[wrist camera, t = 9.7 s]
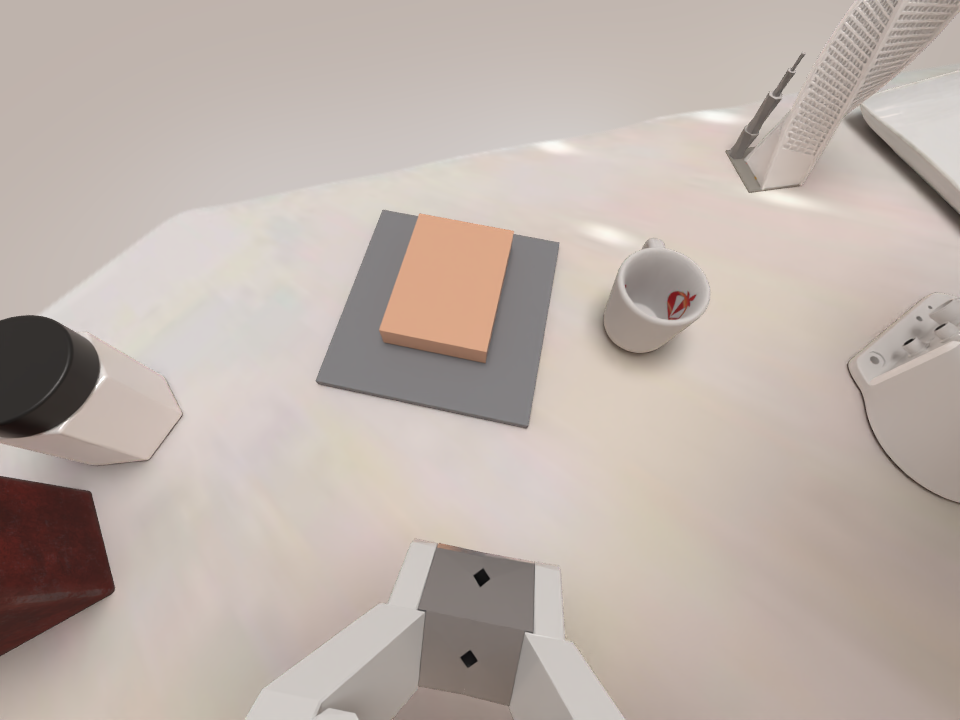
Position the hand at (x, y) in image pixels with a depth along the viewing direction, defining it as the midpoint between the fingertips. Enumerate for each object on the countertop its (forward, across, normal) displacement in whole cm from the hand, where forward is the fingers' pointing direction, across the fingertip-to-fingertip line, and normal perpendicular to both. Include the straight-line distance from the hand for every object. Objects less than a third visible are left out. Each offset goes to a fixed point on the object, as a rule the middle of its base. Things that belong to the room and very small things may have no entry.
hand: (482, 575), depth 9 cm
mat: (+36, +8, +4) cm, 37 cm away
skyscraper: (+57, -27, -14) cm, 65 cm away
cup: (+39, -11, +2) cm, 41 cm away
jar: (+24, +33, +15) cm, 44 cm away
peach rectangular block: (+31, +8, +6) cm, 33 cm away
